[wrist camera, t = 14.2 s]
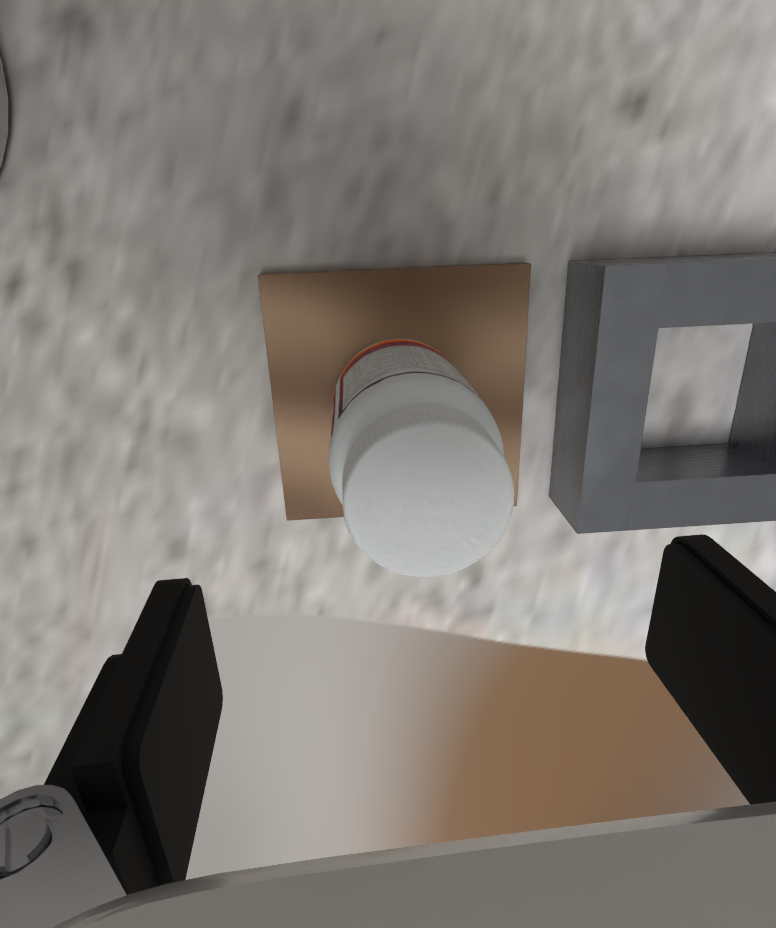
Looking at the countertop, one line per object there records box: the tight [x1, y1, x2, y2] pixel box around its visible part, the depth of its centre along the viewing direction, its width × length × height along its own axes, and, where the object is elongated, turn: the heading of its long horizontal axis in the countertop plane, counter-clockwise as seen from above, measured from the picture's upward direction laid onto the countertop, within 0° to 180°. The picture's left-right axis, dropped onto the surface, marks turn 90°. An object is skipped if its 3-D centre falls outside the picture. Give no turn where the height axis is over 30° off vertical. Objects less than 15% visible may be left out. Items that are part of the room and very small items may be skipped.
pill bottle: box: [329, 339, 515, 577], centre depth 22 cm, size 6×6×11 cm
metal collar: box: [549, 252, 776, 534], centre depth 27 cm, size 12×12×4 cm
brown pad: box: [258, 263, 531, 520], centre depth 27 cm, size 12×12×1 cm
